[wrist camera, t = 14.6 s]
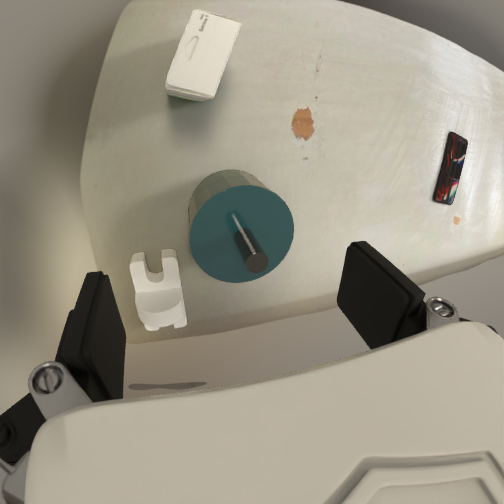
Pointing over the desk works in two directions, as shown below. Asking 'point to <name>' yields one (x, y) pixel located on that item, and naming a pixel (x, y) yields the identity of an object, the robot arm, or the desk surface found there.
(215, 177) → the pot
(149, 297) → the slotted bracket
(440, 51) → the desk surface
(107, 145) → the desk surface
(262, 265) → the lid
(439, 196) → the smartphone
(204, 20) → the ink box
